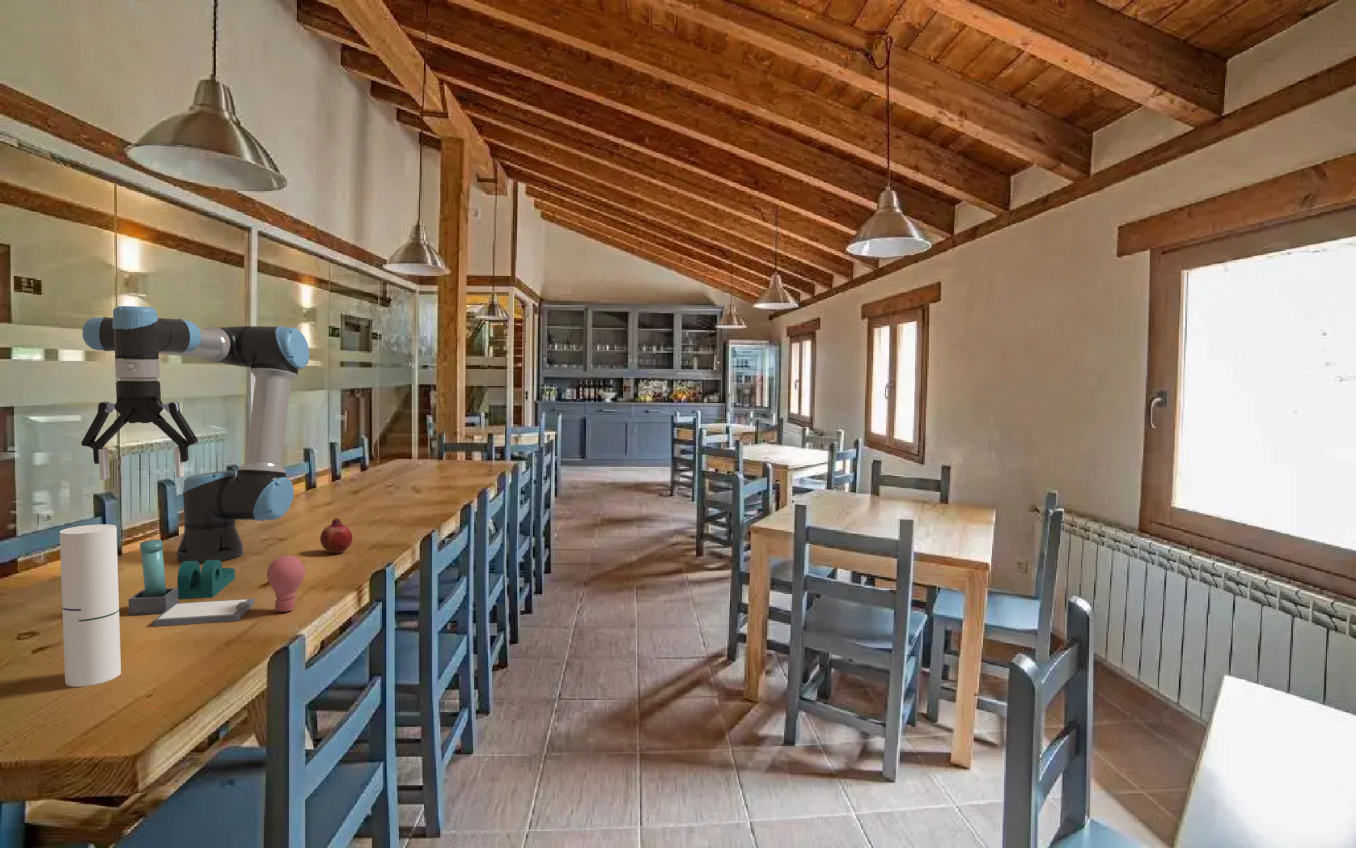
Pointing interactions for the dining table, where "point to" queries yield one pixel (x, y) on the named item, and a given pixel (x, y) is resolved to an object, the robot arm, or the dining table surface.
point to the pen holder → (152, 602)
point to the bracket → (202, 579)
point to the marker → (153, 568)
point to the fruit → (336, 537)
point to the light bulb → (285, 580)
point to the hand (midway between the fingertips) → (143, 478)
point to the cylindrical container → (90, 604)
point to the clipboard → (204, 612)
